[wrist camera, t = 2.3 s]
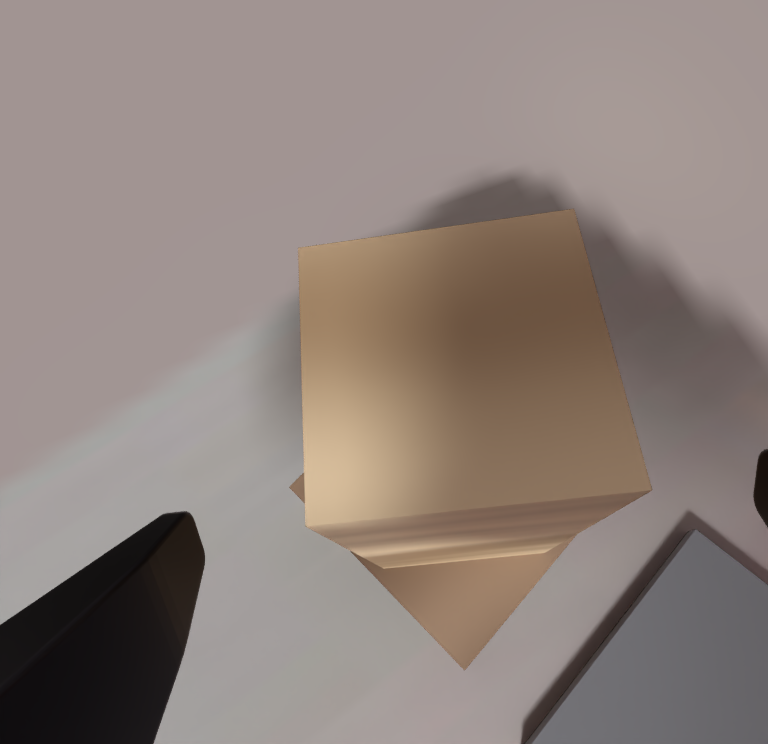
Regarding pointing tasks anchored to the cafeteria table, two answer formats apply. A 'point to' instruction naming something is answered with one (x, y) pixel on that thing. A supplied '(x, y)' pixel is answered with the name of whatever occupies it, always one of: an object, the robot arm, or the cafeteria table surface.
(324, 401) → the oak block
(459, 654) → the walnut ledge
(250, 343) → the cafeteria table surface
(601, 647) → the charcoal pad
